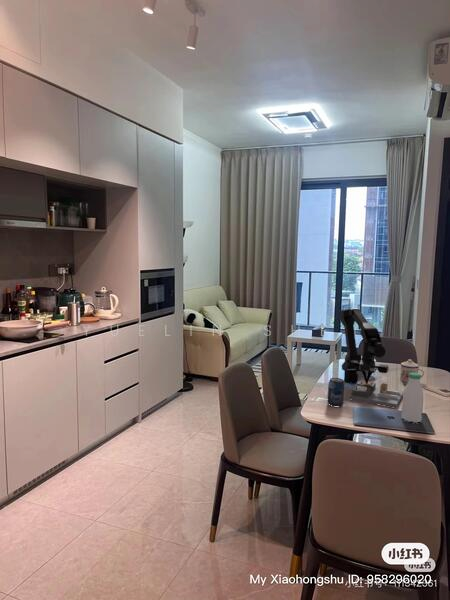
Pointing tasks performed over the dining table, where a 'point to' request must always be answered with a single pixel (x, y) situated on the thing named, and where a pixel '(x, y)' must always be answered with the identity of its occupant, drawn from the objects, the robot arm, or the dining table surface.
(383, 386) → the upright wooden block
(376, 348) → the robot arm
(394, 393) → the control panel
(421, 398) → the milk bottle
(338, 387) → the soda can
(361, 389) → the button grey
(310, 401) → the dining table surface
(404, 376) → the teacup with lid
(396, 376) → the dining table surface
